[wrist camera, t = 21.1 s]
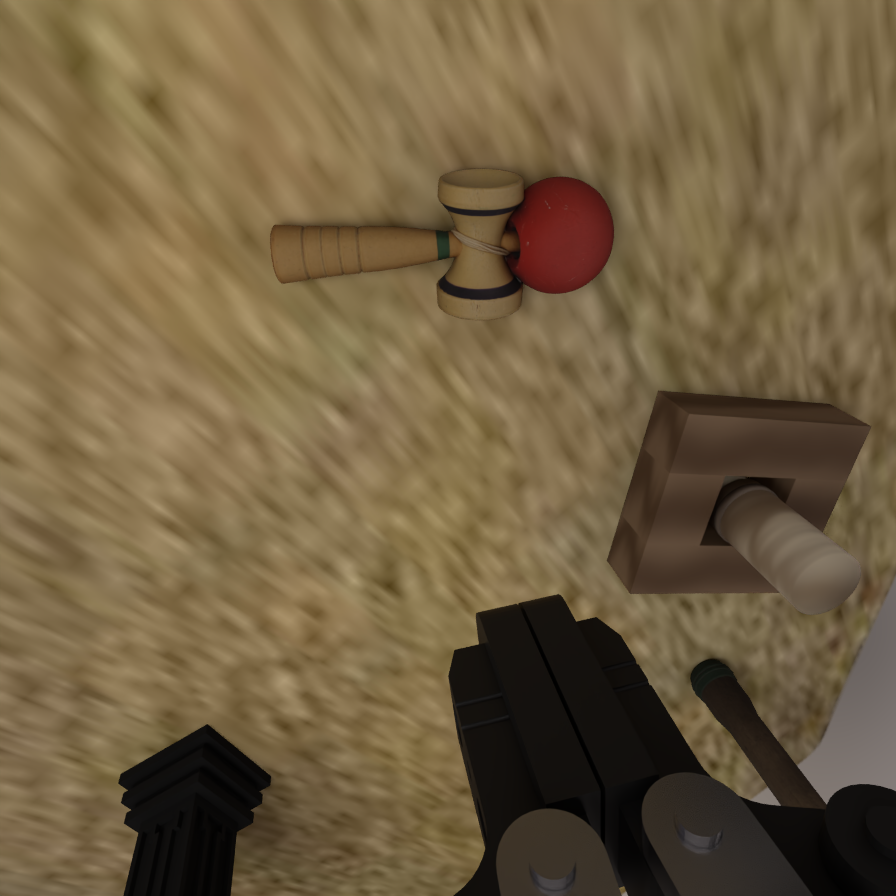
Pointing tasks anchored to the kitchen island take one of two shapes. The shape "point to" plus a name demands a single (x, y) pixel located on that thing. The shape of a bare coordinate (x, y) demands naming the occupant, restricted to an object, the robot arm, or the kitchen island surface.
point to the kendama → (471, 242)
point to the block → (701, 477)
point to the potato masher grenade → (753, 735)
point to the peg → (784, 546)
